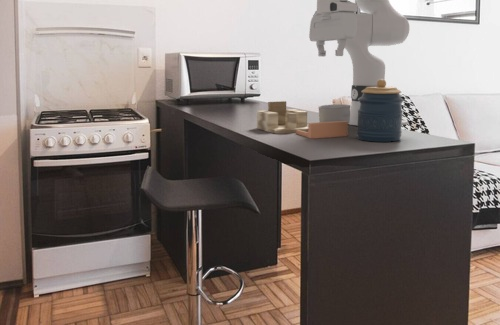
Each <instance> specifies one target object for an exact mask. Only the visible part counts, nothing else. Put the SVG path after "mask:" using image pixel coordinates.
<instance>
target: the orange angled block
mask: <svg viewBox="0 0 500 325" xmlns="http://www.w3.org/2000/svg"><path fill="white" fill-rule="evenodd" d="M348 125H349V124H348V121H336V122H320V121H319V122H308V123H307V127H308V132H305V131H301V130H296V132H295V134H296V135H299V136H301V137H306V138H308V139H320V138H323V139H324V138H336V137H339V138H340V137H348V131H349V130H348V128H349V126H348Z"/></svg>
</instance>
